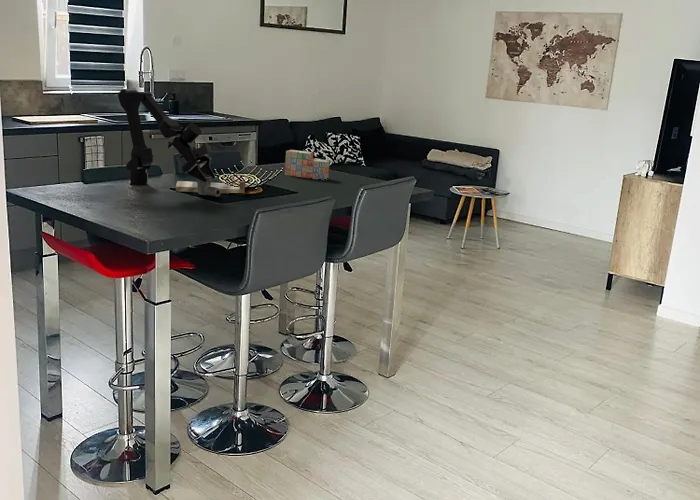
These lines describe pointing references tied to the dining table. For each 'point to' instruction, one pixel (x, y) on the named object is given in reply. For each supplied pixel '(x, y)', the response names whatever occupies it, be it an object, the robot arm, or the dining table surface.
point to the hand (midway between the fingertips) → (210, 179)
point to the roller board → (223, 187)
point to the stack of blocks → (305, 165)
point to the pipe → (207, 187)
